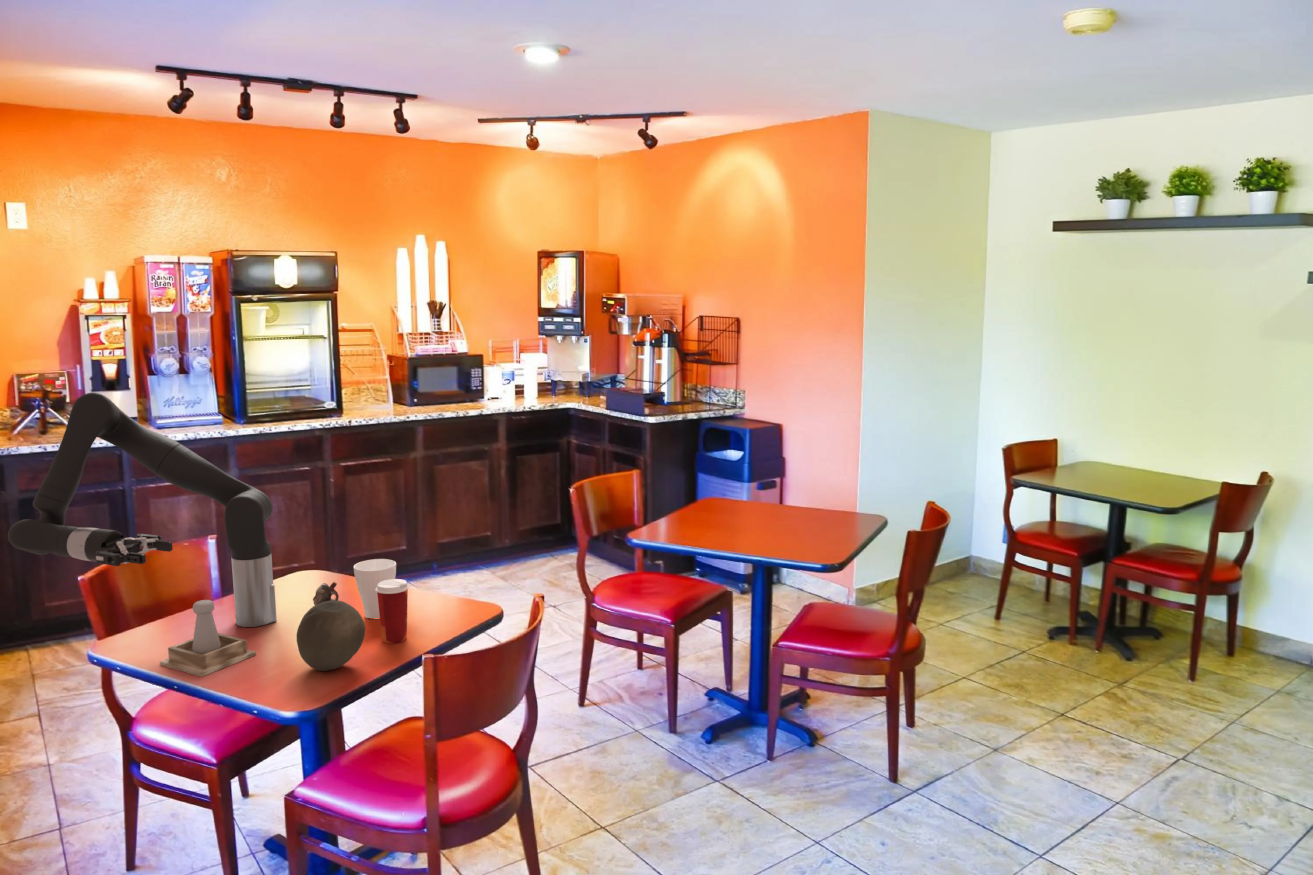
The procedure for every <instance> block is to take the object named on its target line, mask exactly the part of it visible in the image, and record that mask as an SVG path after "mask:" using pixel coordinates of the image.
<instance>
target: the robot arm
mask: <svg viewBox="0 0 1313 875" xmlns="http://www.w3.org/2000/svg"><path fill="white" fill-rule="evenodd" d="M97 438H98V439H100V440H102V441H105V442H107V443H108V444H111V445H113V446H114V447H117V448H119V449H121V450H123V451H124V452H125V453H127V455H129V456H131V458H132V459H134V460H135V461H137V462H138V463H139V464H140V465H141V466H143V467H144V468H146V469H148V470H149V472H152V473H153V474H155V475H156V476H157V477H159V478H161V479H163V480H164V481H166V482H168V483H169V484H171V485H173V486H175V487H177V488H180V489H181V490H186V491H188V492H192V493H195V494H199V495H202V496H205V497H207V498H210V499H213V501H216V502H217V503H219V504H221V505H222V506H224V507H225V508H224V526H225V534H226V535H225V536H226V542H227V547H228V548H229V550H230V558H231V570H232V571H231V572H232V573H231V574H232V584H233V585H232V586H233V587H232V588H233V598H234V614H235V615H234V617H235V625H237V626H239V627H243V628H253V627H254V628H255V627H262V626H265V625H269V624H272V623H274V622H275V623H276V622H278V620H277V618H278V617H277V605H276V602H277V601H276V590H275V589H276V586H275V584H274V576H273V575H274V573H273V560H272V545H271V543H270V541H268V540H267V538H266V530H265V522H266V521H268V520H269V519H270V518H271V516H272V514H273V511H274V510H273V509H274V507H273V503H272V502H273V501H271V499H270V497H269V496H268V495H267V494H266V493H264V492H263V491H261V490H260V489H257V488H256V487H254V486H252V485H249V484H247V483H245V482H243V481H241V480H239V479H238V478H235V477H234V476H232V475H230V474H228V473H227V472H225V471H223V469H221V468H219V467H218V466H216V465H214V464H213V463H211V462H210V461H208V460H207V459H205V458H204V457H202V456H200V455H199V454H197V453H196V452H194V451H192V450H191V449H189V448H187V447H186V446H185V445H183V444H182V443H180V442H178V441H176V440H174V439H173V438H170V437H168V436H166V435H164V434H162V433H159V432H157V431H154V430H151V429H149V428H147V427H145V426H143V425H142V424H140V423H139V422H137V421H136V420H135V419H133V418H131V417H130V416H129V415H128V414H126V413H125V412H124V410H121V409H120V408H119V406H117V405H116V403H114V402H113V401H112V399H110V398H109V397H108V396H106V395H105V394H103V393H99V392H88V393H84V394H82V395H80V396H79V397H78V398H77V399H76V400H75V401H74V403H73V405H72V407H71V411H70V414H69V417H68V420H67V423H66V428H65V431H64V433H63V436H62V439H61V442H60V444H59V447H58V450H57V452H56V454H55V456H54V458H53V460H52V463H51V465H50V467H49V469H48V471H47V473H46V475H45V477H44V479H43V481H42V483H41V485H40V487H39V489H38V491H37V492H36V494H35V497H33V501H32V507H33V508H34V509H35V510H37V512H39V519H38V520H37V519H31V518H30V519H29V518H28V519H20V520H18V521H16V522H15V523H14V524H12V525H11V526H10V528H9V530H8V532H7V539H8V542H9V543H10V545H11V546H12V547H14V548H15V549H18V550H20V551H23V552H28V553H31V554H34V555H39V556H42V555H43V556H44V555H48V554H49V553H50V554H53V555H56V556H60V557H66V558H73V559H78V560H80V561H81V560H82V561H88V562H94V563H96V564H101V565H107V566H113V567H118V566H121V563H122V564H125V565H127V564H130V563H131V564H138V565H144V564H146V562H147V558H146V555H145V554H146V553H148V552H149V551H159V552H160V551H162V552H172V551H173V549H174V548H173V543H172V541H169V540H162V537H163V536H162V535H157V534H148V533H147V534H146V533H137V534H136V537H132V536H130V537H125V536H124V535H123V534H122V533H121V532H120V531H118V530H113V529H105V528H97V527H82V526H81V527H79V526H71V525H65V520H66V515H67V514H66V513H67V510H68V508H69V506H70V504H71V502H72V500H73V498H74V497H75V494H76V491H77V489H78V488H79V485H80V483H81V482H80V481H81V479H82V476H83V475H82V474H83V472H84V467H85V464H86V461H87V458H88V454H89V452H90V450H91V448H92V447H93V444H94V442H95V440H96V439H97ZM141 547H143V548H141Z"/></svg>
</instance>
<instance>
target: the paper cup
mask: <svg viewBox="0 0 1313 875" xmlns="http://www.w3.org/2000/svg"><path fill="white" fill-rule="evenodd" d="M409 589H410V586H409V584H408V582H407V580H405V579H400V578H395V579H390V580H384V581H381V582H379V583H378V585H377V588H376V592H377V596H378V605H379V615H380V619H379V623H380V631H381V638H382V642H383V643H385V644H389V643H394V644H400V643H403V642H405V641H406V640H407V635H408V595H409V594H408V593H409V592H408V590H409Z"/></svg>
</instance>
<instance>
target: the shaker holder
mask: <svg viewBox="0 0 1313 875" xmlns="http://www.w3.org/2000/svg"><path fill="white" fill-rule="evenodd" d="M217 633H218V636H219V640H220V644H221V646H220V648H219V649H216V650H214V651H211V652H208V653H206V654H203V655H202V654H199V653H195V652H193V650H192V645H193V638H192V639H191V638H190V639H189V640H186V641H182V642H180V643H177V644H175V645H171V646H170V647H168V648H167V651H168V658H165V659H163V660H160V661H159V665H160V666H163V667H166V668H170V669H173V670H177V671H180V672H184V673H187V674H190V675H194V676H198V677H202V678H203V677H205V676H208V675H209V674H212V673H215V672H218V671H220V670H222V669H225V668H227V667H229V666H232V665H235V664H237V663H240V662H242V661H245V660H247V659H250V658H252V657H255V656H256V655H257V653H256V651H254V650H250V649H247V648H248V647H247V646H248V645H247V640H246V639H243V638H239V637H235V636H233V635H232V636H231V635H227V634H224V633H221V632H220V633H219V632H217Z"/></svg>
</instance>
